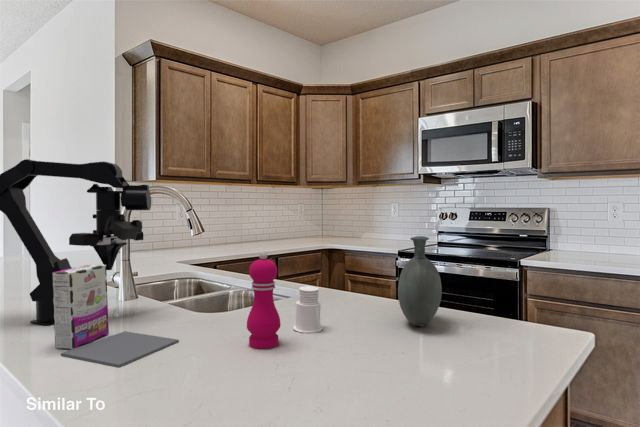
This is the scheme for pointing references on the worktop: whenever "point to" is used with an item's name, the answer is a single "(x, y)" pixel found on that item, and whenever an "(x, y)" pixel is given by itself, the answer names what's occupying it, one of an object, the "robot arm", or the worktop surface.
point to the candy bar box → (80, 305)
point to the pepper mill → (263, 305)
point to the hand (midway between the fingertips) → (109, 269)
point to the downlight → (308, 311)
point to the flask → (419, 286)
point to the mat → (120, 348)
